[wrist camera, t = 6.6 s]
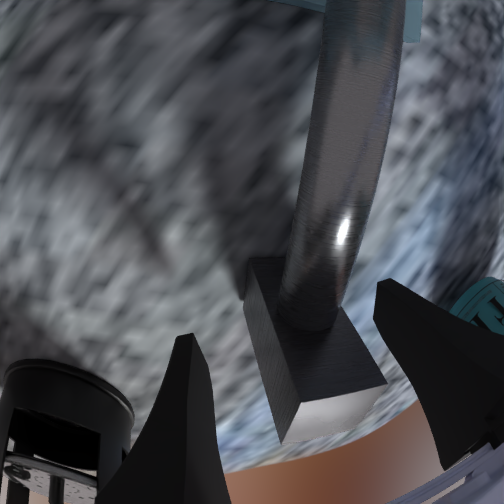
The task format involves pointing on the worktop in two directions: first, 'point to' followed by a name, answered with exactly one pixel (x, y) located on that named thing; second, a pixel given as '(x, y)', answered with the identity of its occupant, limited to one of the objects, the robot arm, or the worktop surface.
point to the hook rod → (329, 232)
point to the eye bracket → (412, 15)
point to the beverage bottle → (483, 305)
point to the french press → (60, 432)
